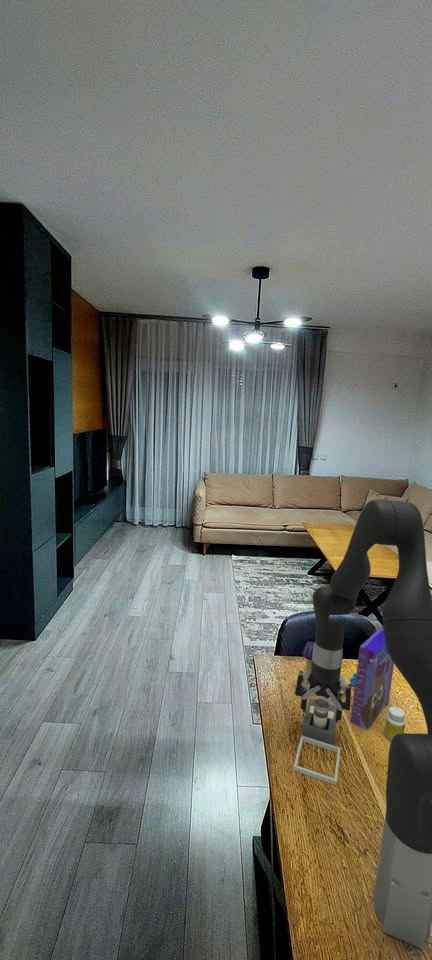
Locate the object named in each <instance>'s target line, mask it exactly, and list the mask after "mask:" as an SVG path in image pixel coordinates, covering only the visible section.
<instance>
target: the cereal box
mask: <svg viewBox="0 0 432 960" xmlns="http://www.w3.org/2000/svg"><path fill="white" fill-rule="evenodd" d="M357 660H358V661H357V665H356V666H357V668H356V682H355V686H354V691H353V699H352V700H353V701H352V706H351V715H350V723H351V724H353V725H356V726H357V727H359V728H361V729H363V730H365V731H369V729H370V728H371V726H372V725H373V724H374V722H375V721H376V720H377V719H378V716H379V715H380V714H381V713H382V711H383V710H384V708H385V707H388V706H389V702H390V697H391V689H392V681H393V675H394V674H393V673H394V668H395V667H394V666H395V664H394V662H393V661H392V659H391V658H390V656H389V654H388V651H387V649H386V644H385V637H384V629H383V625H382V626H380V628H378V629H377V630H376V631H375V632H374V633H373V634H372V635H371V636H370V637H369V638H367V640H365V641H364V642H363V643H362V644H360V645H359V650H358V659H357Z"/></svg>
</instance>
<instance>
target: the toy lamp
mask: <svg viewBox="0 0 432 960" xmlns="http://www.w3.org/2000/svg"><path fill="white" fill-rule="evenodd" d="M314 644H315V642H313V641H307V642H306V643H305V646H304V648H303V650H302V652H301V653H302V654H301V655H302V657H304V658H305V659H306V661H305V670H304V674H306V675H310V673H311V664H312V655H313V648H314ZM308 686H309V682H308V680H306V681H305V682H304V683H302V686H301V689H302V690H303V691H304V690H305V689H307V688H308Z"/></svg>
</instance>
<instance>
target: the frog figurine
mask: <svg viewBox="0 0 432 960" xmlns="http://www.w3.org/2000/svg"><path fill="white" fill-rule="evenodd" d="M340 684H342V685H346V686H347V681H346V679H345V678H344V677H343V675H342V674H340ZM341 692H342V690H340V691H338V693H339V695H340V694H341Z"/></svg>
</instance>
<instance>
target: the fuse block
mask: <svg viewBox="0 0 432 960" xmlns="http://www.w3.org/2000/svg"><path fill="white" fill-rule="evenodd" d="M317 699H323V700H325V701H327V702H328V703H329V709H328V717H327V725H326V730H323V729H320V728H317V727H314V726H312V725H313V716H314V706H315V700H317ZM336 710H337V707H336V705H335V704H332V703H331V698H325V697H323V696H318V695H317V694H316V699H314V698H311V697H309V698H308V702H307V707H306V712H305V715H304V719H303V724H302V730H301V731H302V732H301V735H302V736H305V737H308V738H311V739H314V740H317V741H320V742H323V743H327V744H330V745H333V744H334V738H335V731H336V726H337V725H336V723H337V722H335V719H336ZM333 746H334V745H333Z"/></svg>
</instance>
